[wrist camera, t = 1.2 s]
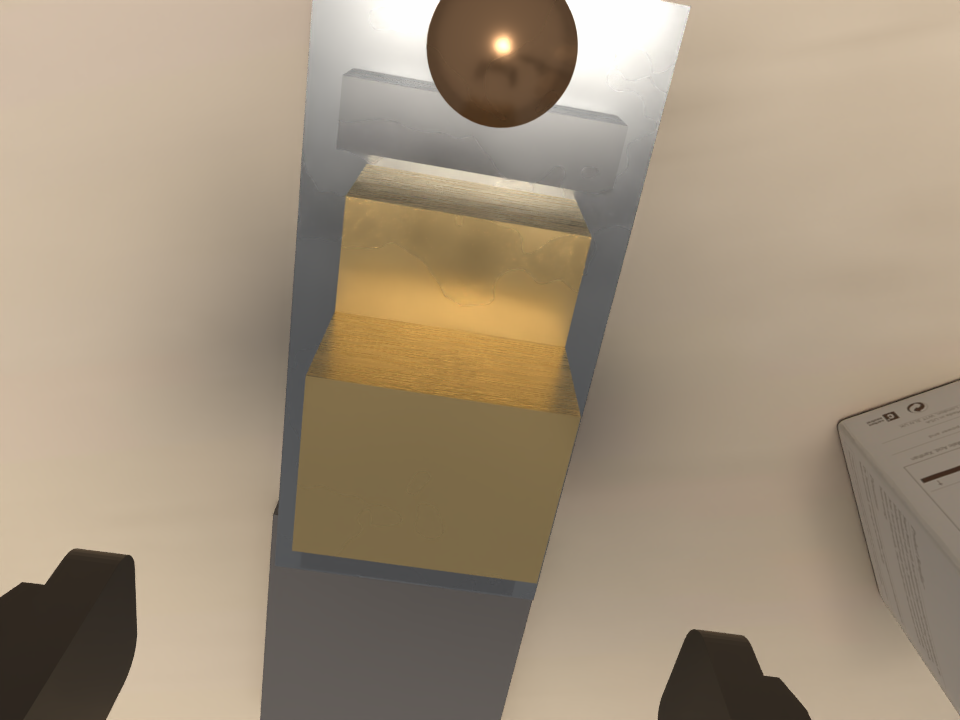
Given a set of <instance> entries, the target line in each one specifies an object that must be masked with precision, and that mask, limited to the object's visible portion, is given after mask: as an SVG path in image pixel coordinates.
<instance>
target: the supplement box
mask: <svg viewBox="0 0 960 720" xmlns="http://www.w3.org/2000/svg"><path fill="white" fill-rule="evenodd" d="M838 430H839V435H840V439H841V443H842V447H843V451H844V455H845V459H846V463H847V467H848V471H849V475H850V479H851V483H852V487H853V491H854V495H855V499H856V503H857V506H858V510H859V514H860V518H861V522H862V526H863V530H864V534H865V538H866V542H867V546H868V550H869V554H870V558H871V561H872V565H873V569H874V573H875V577H876V581H877V585H878V588H879V592H880V595H881V598H882V600H883V601H884V602H885V604H886V605H887V607H888V608H889V610H890V611H891V613H892V614H893V616H894V617H895V619H896V620H897V622H898V623H899V625H900V626H901V628H902V629H903V631H904V632H905V634H906V636H907V637H908V639H909V640H910V642H911V643H912V645H913V646H914V648H915V649H916V651H917V652H918V654H919V655H920V657H921V658H922V660H923V661H924V663H925V664H926V666H927V667H928V669H929V670H930V672H931V673H932V675H933V676H934V678H935V679H936V681H937V682H938V684H939V685H940V687H941V688H942V690H943V691H944V693H945V694H946V696H947V697H948V699H949V700H950V702H951V703H952V705H953V706H954V708H955V709H956V711H957V712H958V714H959V715H960V380H959V381H956V382H953V383H950V384H948V385H945V386H942V387H939V388H936V389H933V390H930V391H927V392H924V393H921V394H918V395H915V396H913V397H910V398H907V399H904V400H901V401H898V402H895V403H892V404H889V405H886V406H883V407H880V408H877V409H875V410H872V411H869V412H866V413H863V414H860V415H857V416H854V417H851V418H848V419H845V420H843V421H841V422H840V423H839V425H838Z"/></svg>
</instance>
